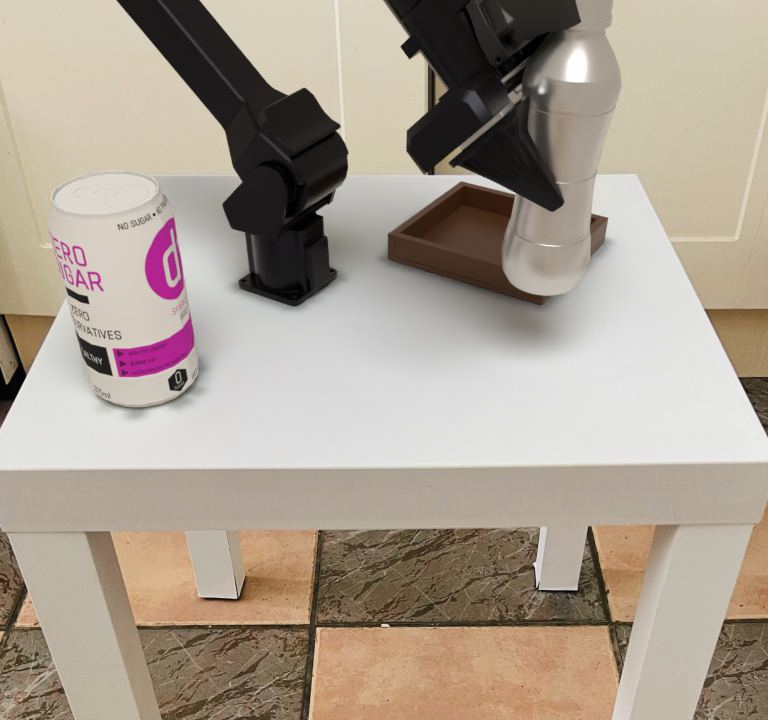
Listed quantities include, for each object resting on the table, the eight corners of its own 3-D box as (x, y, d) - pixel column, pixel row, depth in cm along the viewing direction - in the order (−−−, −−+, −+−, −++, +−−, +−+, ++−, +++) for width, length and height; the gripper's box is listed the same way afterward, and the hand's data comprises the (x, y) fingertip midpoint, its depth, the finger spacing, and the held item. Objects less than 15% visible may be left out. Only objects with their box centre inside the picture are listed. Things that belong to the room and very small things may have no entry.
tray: (387, 259, 85) (387, 233, 83) (459, 205, 93) (461, 180, 91) (541, 305, 78) (545, 278, 77) (604, 242, 87) (608, 217, 85)
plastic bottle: (568, 260, 72) (616, -26, 59) (596, 304, 67) (655, 3, 54) (488, 265, 71) (518, -24, 58) (510, 310, 67) (549, 5, 53)
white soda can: (214, 356, 73) (186, 171, 63) (176, 418, 67) (138, 224, 57) (119, 346, 74) (76, 162, 64) (73, 405, 68) (17, 213, 58)
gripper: (464, -69, 48) (631, 178, 52) (577, -125, 60) (705, 79, 64) (336, 66, 56) (489, 271, 60) (459, -7, 68) (580, 167, 72)
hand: (572, 191), depth 64 cm, fingers closed on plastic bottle, 5 cm apart
